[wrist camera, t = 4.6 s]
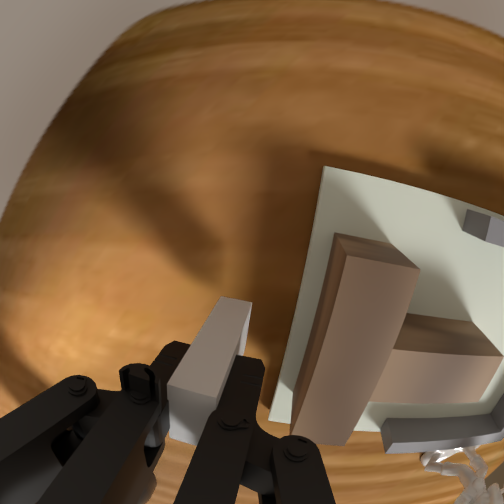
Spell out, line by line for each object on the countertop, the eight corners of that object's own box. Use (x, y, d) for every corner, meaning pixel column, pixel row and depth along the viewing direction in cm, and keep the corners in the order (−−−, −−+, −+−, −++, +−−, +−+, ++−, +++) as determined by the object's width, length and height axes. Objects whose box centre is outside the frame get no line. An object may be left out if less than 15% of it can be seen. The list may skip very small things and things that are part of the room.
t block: (292, 392, 17) (288, 440, 13) (334, 232, 14) (347, 255, 10) (431, 403, 16) (448, 443, 12) (492, 266, 13) (531, 292, 9)
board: (269, 410, 19) (263, 446, 16) (323, 166, 14) (330, 165, 11) (488, 417, 17) (502, 442, 14) (566, 243, 12) (594, 255, 9)
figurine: (420, 447, 18) (447, 560, 7) (507, 407, 16) (556, 498, 5) (418, 471, 19) (437, 569, 8) (498, 436, 17) (534, 520, 6)
